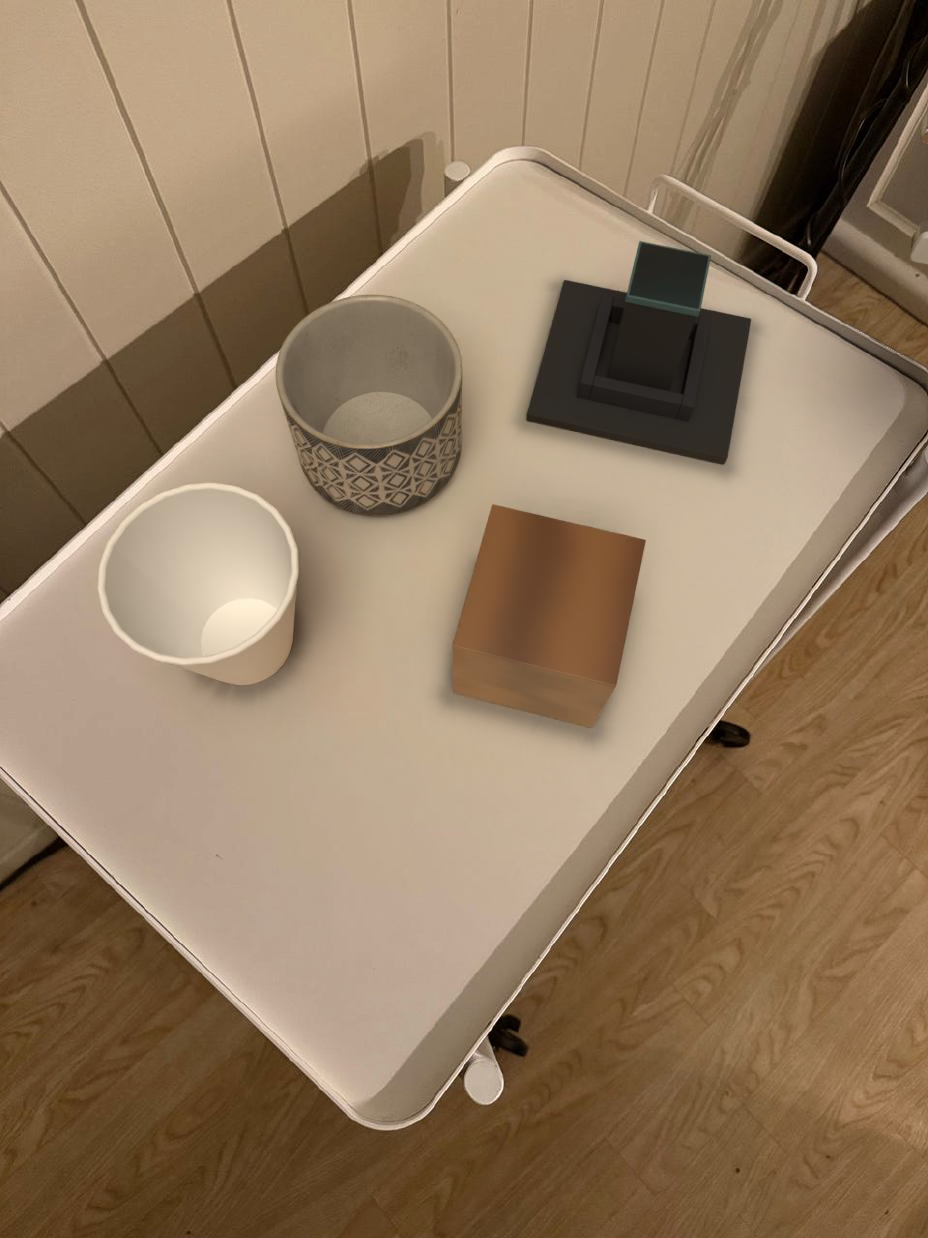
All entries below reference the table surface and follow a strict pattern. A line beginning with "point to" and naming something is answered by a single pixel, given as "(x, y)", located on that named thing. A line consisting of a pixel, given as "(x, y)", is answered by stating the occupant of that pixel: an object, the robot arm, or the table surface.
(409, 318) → the planter
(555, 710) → the block
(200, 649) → the cup
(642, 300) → the pad block
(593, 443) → the table surface
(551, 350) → the base pad
